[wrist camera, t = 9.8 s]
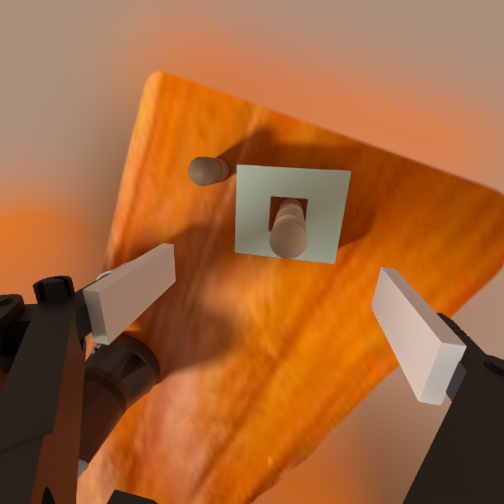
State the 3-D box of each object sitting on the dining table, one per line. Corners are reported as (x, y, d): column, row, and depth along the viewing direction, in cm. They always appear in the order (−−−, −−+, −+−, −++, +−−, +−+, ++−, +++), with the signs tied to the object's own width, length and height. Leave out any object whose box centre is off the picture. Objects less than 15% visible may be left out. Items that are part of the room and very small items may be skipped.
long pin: (278, 219, 38) (268, 256, 23) (280, 197, 37) (270, 221, 22) (300, 221, 37) (305, 260, 22) (303, 198, 36) (309, 224, 21)
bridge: (242, 242, 40) (234, 252, 36) (245, 164, 36) (236, 164, 31) (330, 251, 38) (334, 263, 33) (344, 170, 34) (351, 171, 29)
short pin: (208, 181, 38) (189, 184, 31) (208, 157, 37) (188, 156, 30) (229, 182, 37) (214, 186, 31) (230, 158, 36) (214, 157, 30)
